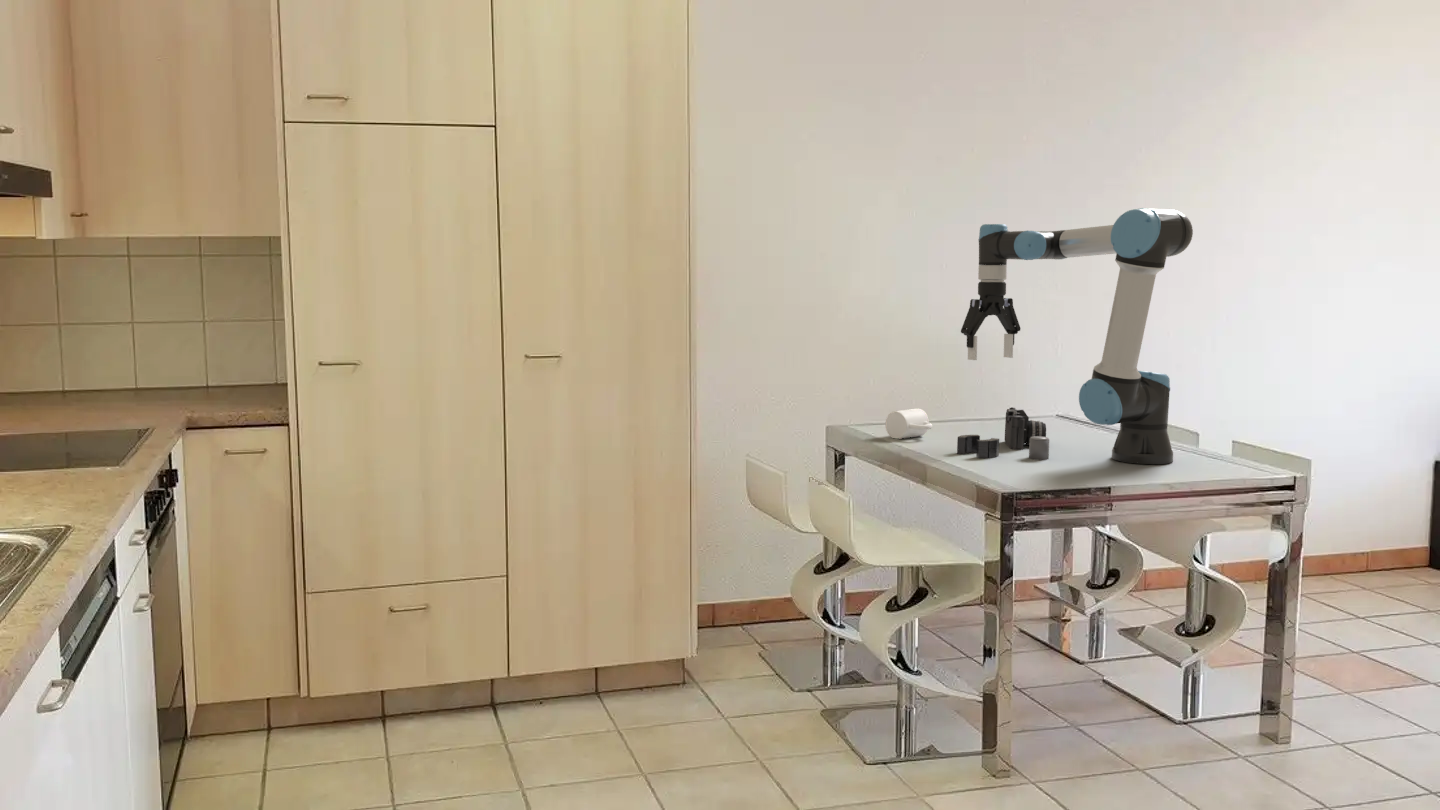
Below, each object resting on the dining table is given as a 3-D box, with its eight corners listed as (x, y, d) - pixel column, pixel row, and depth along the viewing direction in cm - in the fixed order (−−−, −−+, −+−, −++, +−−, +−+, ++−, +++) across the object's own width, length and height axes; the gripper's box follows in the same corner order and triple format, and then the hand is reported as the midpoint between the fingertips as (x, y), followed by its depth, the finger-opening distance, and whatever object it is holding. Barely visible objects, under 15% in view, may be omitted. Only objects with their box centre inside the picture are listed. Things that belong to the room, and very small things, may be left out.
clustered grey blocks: (1002, 456, 347) (1003, 439, 346) (981, 458, 343) (982, 441, 342) (972, 450, 356) (973, 433, 355) (952, 452, 352) (952, 436, 351)
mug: (884, 437, 377) (885, 409, 376) (907, 434, 384) (908, 406, 383) (917, 442, 368) (918, 414, 367) (940, 439, 375) (941, 411, 374)
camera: (1049, 450, 357) (1051, 414, 356) (1009, 450, 358) (1010, 413, 356) (1040, 442, 371) (1041, 406, 370) (1000, 441, 372) (1002, 406, 371)
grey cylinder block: (1052, 458, 344) (1053, 438, 343) (1039, 460, 341) (1040, 439, 341) (1038, 456, 348) (1039, 435, 347) (1024, 457, 345) (1025, 437, 345)
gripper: (1014, 280, 372) (1012, 355, 375) (948, 281, 358) (947, 359, 361) (1034, 280, 366) (1032, 357, 368) (968, 282, 352) (966, 361, 355)
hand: (990, 358), depth 365 cm, fingers open, 13 cm apart
